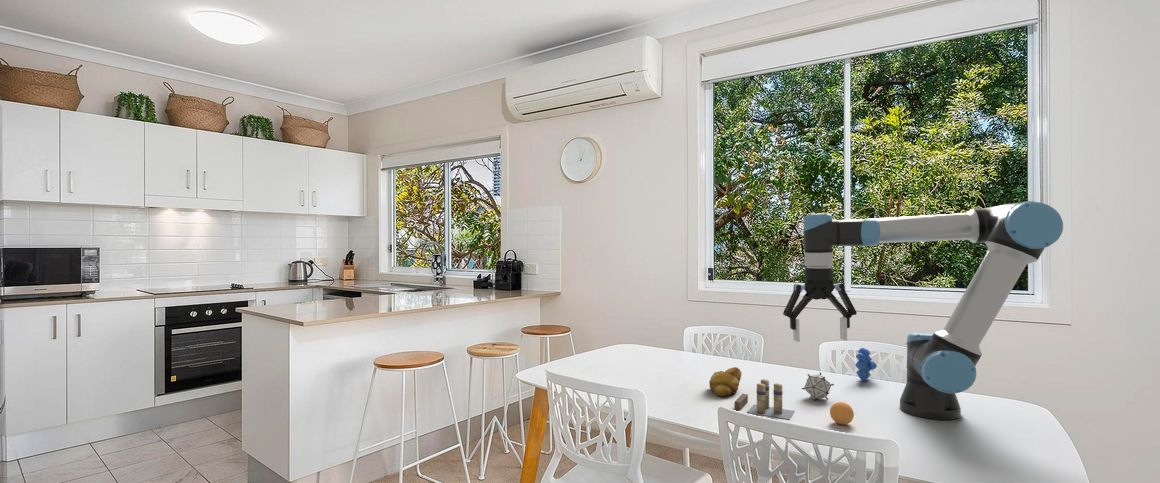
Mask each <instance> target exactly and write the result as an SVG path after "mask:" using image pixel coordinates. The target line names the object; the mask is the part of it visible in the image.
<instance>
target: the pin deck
mask: <svg viewBox="0 0 1160 483" xmlns="http://www.w3.org/2000/svg"><path fill="white" fill-rule="evenodd" d="M795 412H796V411H795V410H791V409H785V408H782V414H776V413H774V406H773V407H772V406H769V409H765V414H761V415H760V414H759V413H757V404H753V405H752V406H751V407H750V408H749V409H748V410H747V411H746V413H748V414H752V415H758V416H764V417H770V418H776V417H777V418H776V419H781V418H783V420H787V419H789V420H788V421H790V420H791V419H790V418H792V417H793V415H794V414H795Z"/></svg>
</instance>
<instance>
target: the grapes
mask: <svg viewBox="0 0 1160 483" xmlns="http://www.w3.org/2000/svg"><path fill="white" fill-rule="evenodd" d="M857 352H858V354H856V356H855V357H856V359H857V362H856V363H855V364H854V366H855V367H856V368H857V371H856V372H855V374H856V375H857V376H858V378H859V379H860V381H862V382H865V381H867V380H868V379H869V378H870V376H871V373H870V372H871V371H872V370H873V371H874V370H875V369H876V368H877V367H878V365H877V364H876V362H874V361H873V360H872V357H871V356H870V355H871V353H870V351H869V350H868V349H867V348H864V347H861V348H859V349H858V351H857Z"/></svg>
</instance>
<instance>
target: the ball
mask: <svg viewBox="0 0 1160 483" xmlns="http://www.w3.org/2000/svg"><path fill="white" fill-rule="evenodd" d="M829 415H830V418H831V419H832V421H834V422H835V423H837V424H839V425H848V424H850V423H851V422H853V420H854V416H855V413H854V409H853V408H852V407H851V405H850V404H848V403H847V402H843V401H836V402H835V403H833V404H832V405H831V407H830V408H829Z"/></svg>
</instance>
